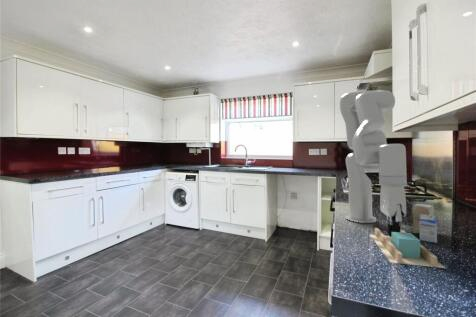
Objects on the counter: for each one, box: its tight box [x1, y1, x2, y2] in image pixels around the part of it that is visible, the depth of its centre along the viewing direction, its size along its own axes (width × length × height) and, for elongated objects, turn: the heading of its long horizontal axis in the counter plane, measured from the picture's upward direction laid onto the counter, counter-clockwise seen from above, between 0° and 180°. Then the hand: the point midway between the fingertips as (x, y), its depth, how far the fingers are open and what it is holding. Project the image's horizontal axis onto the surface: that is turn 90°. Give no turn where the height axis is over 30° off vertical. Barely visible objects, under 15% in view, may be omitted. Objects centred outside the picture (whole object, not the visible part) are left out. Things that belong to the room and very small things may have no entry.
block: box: [391, 232, 421, 258], centre depth 65 cm, size 6×5×5 cm
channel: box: [369, 227, 446, 269], centre depth 69 cm, size 22×12×4 cm, turn 162°
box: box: [412, 203, 435, 234], centre depth 83 cm, size 5×4×11 cm
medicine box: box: [419, 214, 438, 244], centre depth 76 cm, size 8×4×9 cm, turn 141°
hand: (394, 236), depth 74 cm, fingers closed
